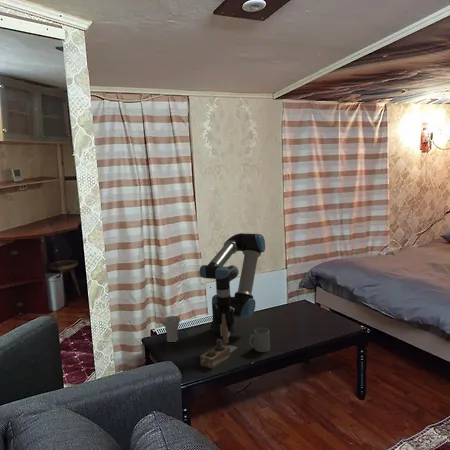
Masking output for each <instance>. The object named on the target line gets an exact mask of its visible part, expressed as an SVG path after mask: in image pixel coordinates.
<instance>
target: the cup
mask: <svg viewBox="0 0 450 450" xmlns="http://www.w3.org/2000/svg"><path fill="white" fill-rule="evenodd" d="M180 321H181V317H179V316H176V315H170V316H169V315H168V316H166V317H164V318H162V324H163V326H164V328H165V331H166V337H167V338H166V342H167V341H168V342H175V343H177V342H178V341H179V339H178V331H179V325H180ZM177 340H178V341H177ZM176 341H177V342H176ZM168 342H167V343H168Z"/></svg>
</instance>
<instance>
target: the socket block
mask: <svg viewBox="0 0 450 450" xmlns="http://www.w3.org/2000/svg"><path fill="white" fill-rule="evenodd" d="M215 341H216V342H215V343H216V345H215V346H213V347H212V348H210V349H209V350H207V351H206V352H205V353H203V354H200V356H199V360H200V366H201V367H204V368H208V369H212V370H214V369H215V368H217V366H218V365H220V364H222V362H224V361H225V360H227V359H228V358H230V357H231V353H230V348H229V347H225V346H222V344H223V338H217V339H216V340H215Z"/></svg>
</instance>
